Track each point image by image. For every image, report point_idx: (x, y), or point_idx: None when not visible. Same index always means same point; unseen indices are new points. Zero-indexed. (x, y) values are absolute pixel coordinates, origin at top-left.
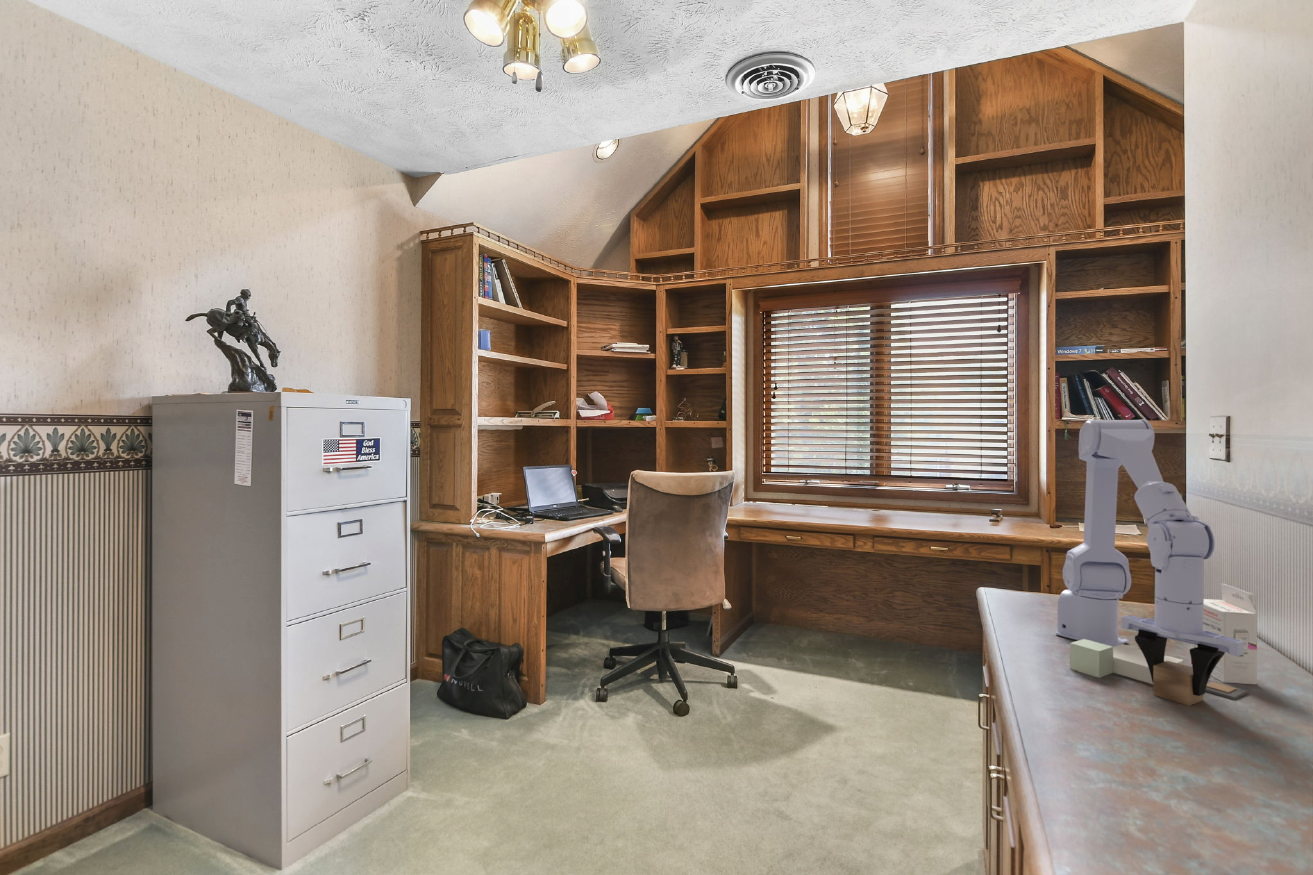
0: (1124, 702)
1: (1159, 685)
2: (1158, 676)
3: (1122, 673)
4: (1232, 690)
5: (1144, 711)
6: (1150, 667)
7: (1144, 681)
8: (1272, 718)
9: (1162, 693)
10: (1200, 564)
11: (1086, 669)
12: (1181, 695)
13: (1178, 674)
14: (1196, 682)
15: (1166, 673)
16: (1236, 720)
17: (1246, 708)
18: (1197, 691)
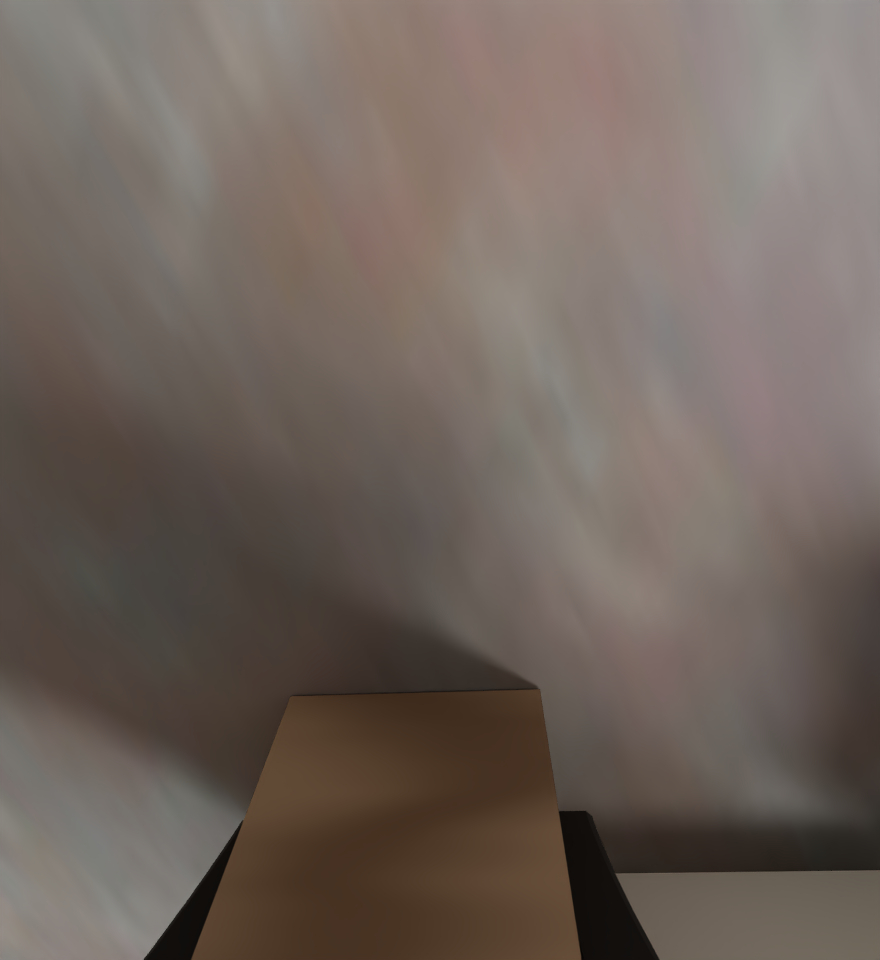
0: (585, 258)
1: (500, 767)
2: (515, 846)
3: (866, 883)
4: None
5: (364, 204)
6: (628, 944)
7: (698, 874)
8: (3, 905)
9: (472, 714)
10: None
11: None
12: (331, 746)
13: (311, 938)
14: (192, 923)
15: (436, 906)
16: (19, 710)
17: (147, 933)
18: (229, 844)
